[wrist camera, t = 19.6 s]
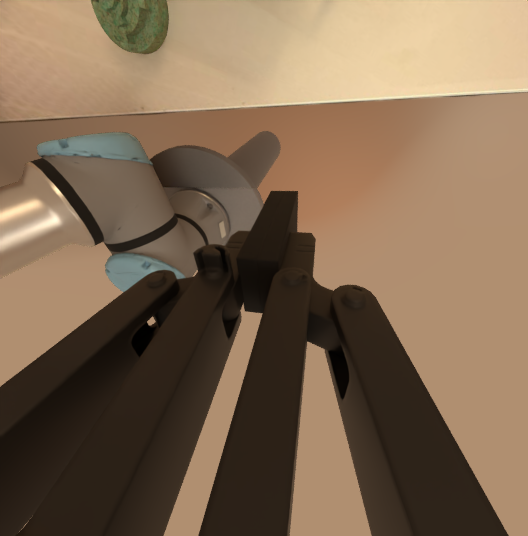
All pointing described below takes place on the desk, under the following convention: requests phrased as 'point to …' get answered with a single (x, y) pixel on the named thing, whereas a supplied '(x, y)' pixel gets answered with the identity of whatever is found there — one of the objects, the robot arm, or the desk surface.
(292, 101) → the desk surface
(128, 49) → the decorative artifact
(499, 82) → the desk surface
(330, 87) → the desk surface
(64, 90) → the desk surface
